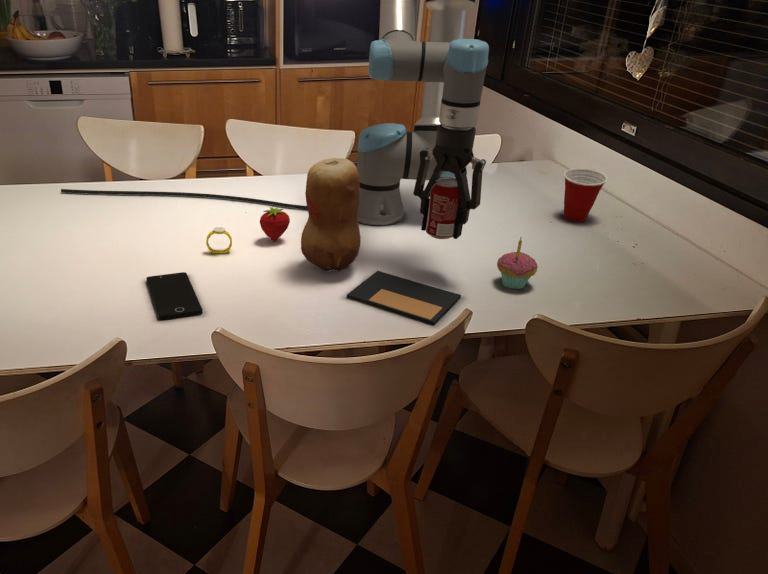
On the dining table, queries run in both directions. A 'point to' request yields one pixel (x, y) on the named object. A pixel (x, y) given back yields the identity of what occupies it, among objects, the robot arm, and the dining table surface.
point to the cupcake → (516, 268)
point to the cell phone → (173, 295)
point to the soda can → (443, 208)
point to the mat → (404, 297)
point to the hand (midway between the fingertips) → (441, 232)
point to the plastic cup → (581, 192)
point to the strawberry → (274, 223)
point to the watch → (219, 231)
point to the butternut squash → (332, 215)
